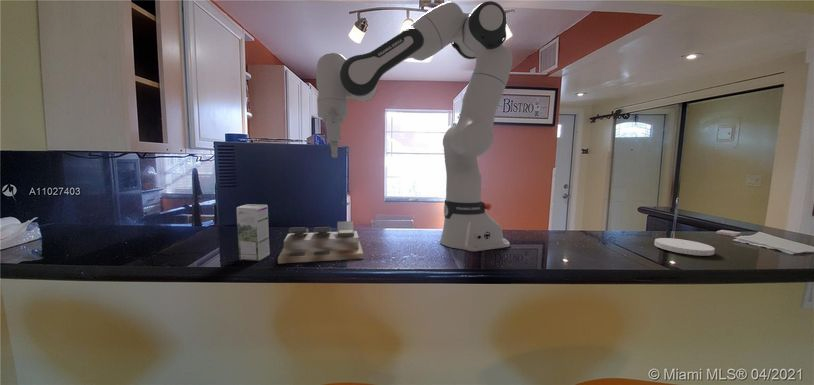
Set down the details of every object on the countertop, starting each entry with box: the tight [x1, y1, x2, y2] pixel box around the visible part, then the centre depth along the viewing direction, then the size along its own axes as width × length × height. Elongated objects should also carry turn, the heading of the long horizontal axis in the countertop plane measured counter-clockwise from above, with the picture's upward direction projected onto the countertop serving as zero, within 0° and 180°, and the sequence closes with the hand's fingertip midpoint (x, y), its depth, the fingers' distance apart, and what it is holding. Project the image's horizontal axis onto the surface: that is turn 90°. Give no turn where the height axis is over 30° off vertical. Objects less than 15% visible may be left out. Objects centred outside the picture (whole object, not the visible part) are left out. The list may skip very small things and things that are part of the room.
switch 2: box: [336, 220, 355, 237], centre depth 90 cm, size 5×7×1 cm, turn 13°
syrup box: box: [236, 203, 271, 262], centre depth 83 cm, size 6×6×14 cm
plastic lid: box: [654, 237, 716, 257], centre depth 96 cm, size 14×14×2 cm
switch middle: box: [312, 226, 332, 233], centre depth 88 cm, size 5×7×1 cm, turn 13°
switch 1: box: [288, 226, 310, 234], centre depth 87 cm, size 5×7×1 cm, turn 13°
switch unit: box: [277, 230, 364, 264], centre depth 87 cm, size 22×12×6 cm, turn 103°
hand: (334, 157), depth 94 cm, fingers closed
